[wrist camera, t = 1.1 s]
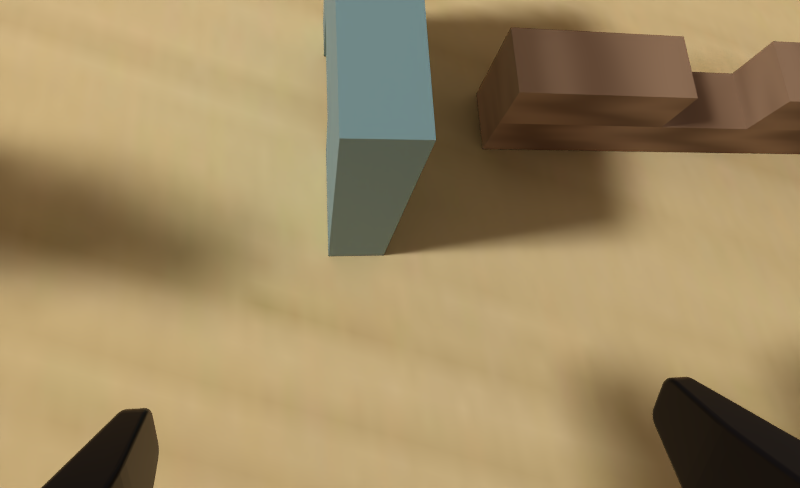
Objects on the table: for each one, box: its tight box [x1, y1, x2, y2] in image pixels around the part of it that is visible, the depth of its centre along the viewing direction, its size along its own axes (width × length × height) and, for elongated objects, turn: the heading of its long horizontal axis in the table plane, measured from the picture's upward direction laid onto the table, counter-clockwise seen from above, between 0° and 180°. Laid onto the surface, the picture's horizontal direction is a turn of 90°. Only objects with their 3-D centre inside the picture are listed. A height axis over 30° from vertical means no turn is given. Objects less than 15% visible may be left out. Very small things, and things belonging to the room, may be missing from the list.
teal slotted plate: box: [323, 0, 436, 256], centre depth 20 cm, size 12×2×11 cm, turn 3°
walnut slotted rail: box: [477, 28, 800, 154], centre depth 26 cm, size 20×3×5 cm, turn 93°
